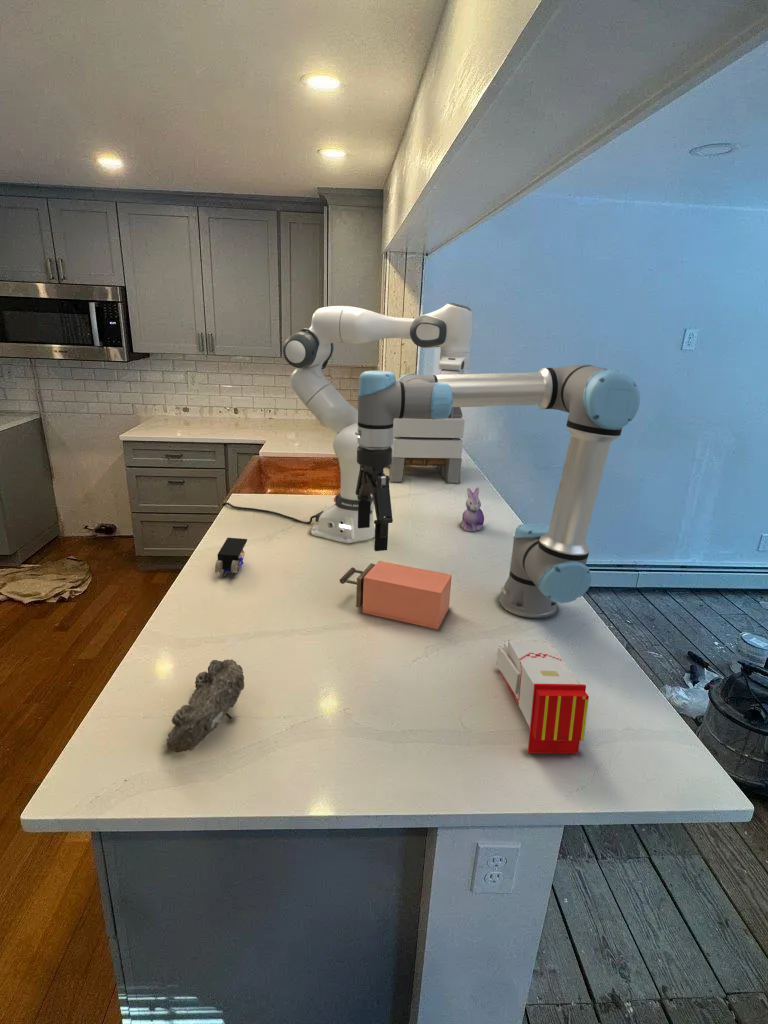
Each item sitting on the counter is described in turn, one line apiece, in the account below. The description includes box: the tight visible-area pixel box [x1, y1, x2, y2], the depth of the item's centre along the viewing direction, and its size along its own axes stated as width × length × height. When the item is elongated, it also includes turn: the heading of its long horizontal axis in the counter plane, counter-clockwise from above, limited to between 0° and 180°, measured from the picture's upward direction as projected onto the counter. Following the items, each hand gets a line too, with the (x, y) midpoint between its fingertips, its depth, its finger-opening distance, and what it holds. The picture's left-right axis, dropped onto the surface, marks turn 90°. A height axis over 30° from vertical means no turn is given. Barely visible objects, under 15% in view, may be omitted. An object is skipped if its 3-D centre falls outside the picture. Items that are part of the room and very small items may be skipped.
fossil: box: [166, 658, 245, 754], centre depth 106 cm, size 22×10×15 cm
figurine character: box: [214, 537, 248, 578], centre depth 166 cm, size 7×8×15 cm
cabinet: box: [362, 560, 453, 630], centre depth 147 cm, size 20×11×10 cm, turn 70°
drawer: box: [339, 563, 376, 609], centre depth 149 cm, size 24×10×8 cm, turn 70°
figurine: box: [461, 486, 485, 532], centre depth 206 cm, size 9×10×15 cm
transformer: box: [386, 407, 465, 484], centre depth 268 cm, size 34×33×41 cm
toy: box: [495, 639, 590, 754], centre depth 114 cm, size 12×13×30 cm
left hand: (450, 408), depth 173 cm, fingers open, 8 cm apart
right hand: (371, 538), depth 128 cm, fingers open, 13 cm apart
